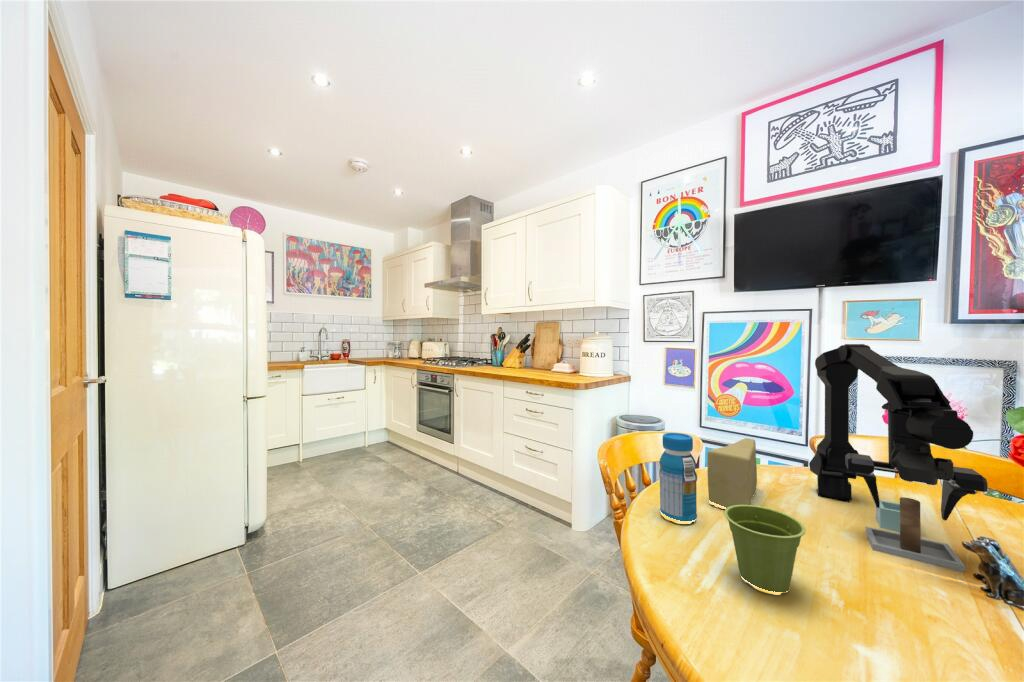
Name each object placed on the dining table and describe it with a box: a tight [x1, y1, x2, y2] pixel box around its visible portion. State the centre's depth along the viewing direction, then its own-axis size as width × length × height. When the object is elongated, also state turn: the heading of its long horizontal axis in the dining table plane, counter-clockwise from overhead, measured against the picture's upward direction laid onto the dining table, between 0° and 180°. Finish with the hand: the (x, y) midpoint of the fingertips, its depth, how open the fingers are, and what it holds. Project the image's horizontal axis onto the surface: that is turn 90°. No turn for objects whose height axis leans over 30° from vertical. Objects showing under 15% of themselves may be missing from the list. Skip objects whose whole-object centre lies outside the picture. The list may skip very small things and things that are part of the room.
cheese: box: [707, 438, 758, 508], centre depth 100 cm, size 22×10×15 cm, turn 132°
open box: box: [875, 499, 900, 533], centre depth 83 cm, size 6×6×5 cm
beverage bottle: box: [658, 432, 698, 521], centre depth 89 cm, size 8×8×20 cm
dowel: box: [899, 496, 922, 553], centre depth 74 cm, size 3×3×10 cm
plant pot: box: [723, 504, 807, 592], centre depth 64 cm, size 12×12×11 cm
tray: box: [865, 526, 966, 573], centre depth 73 cm, size 12×9×2 cm
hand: (909, 513), depth 74 cm, fingers open, 9 cm apart
